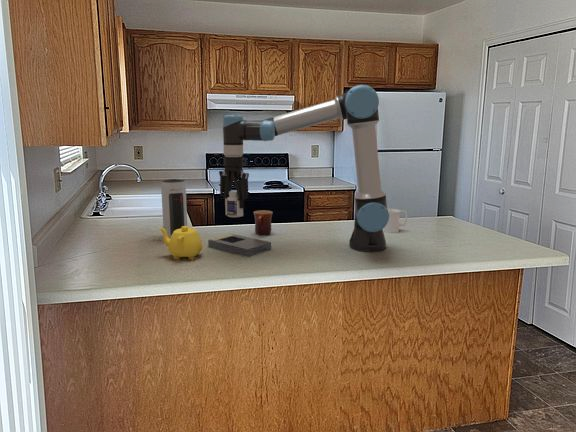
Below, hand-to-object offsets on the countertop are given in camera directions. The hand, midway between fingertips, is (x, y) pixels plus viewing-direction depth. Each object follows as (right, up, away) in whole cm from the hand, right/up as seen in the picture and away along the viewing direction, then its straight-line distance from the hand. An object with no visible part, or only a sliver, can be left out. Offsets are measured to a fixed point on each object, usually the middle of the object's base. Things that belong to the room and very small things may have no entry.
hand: (234, 215), depth 191 cm
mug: (+9, -9, +30) cm, 33 cm away
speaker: (-28, -11, +22) cm, 37 cm away
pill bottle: (0, -1, 0) cm, 1 cm away
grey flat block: (+1, -14, +8) cm, 16 cm away
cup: (+71, -8, +41) cm, 83 cm away
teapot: (-20, -16, -4) cm, 26 cm away
